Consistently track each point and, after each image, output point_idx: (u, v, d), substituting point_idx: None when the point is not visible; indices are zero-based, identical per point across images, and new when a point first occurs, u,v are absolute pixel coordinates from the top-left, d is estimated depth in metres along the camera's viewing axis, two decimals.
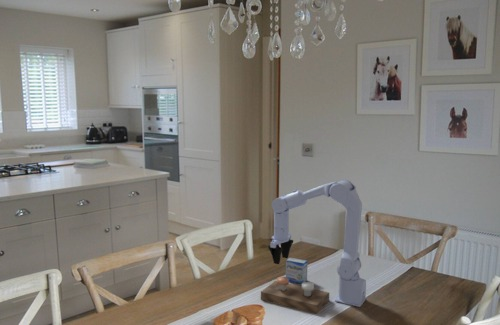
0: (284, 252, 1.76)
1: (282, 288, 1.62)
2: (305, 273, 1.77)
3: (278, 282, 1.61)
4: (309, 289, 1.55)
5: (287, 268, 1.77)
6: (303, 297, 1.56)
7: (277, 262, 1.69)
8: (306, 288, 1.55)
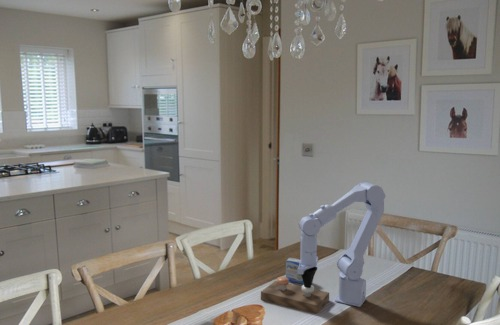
0: None
1: (282, 288, 1.62)
2: None
3: (278, 282, 1.61)
4: (309, 291, 1.55)
5: (287, 268, 1.77)
6: (303, 297, 1.56)
7: (308, 286, 1.56)
8: (306, 290, 1.55)
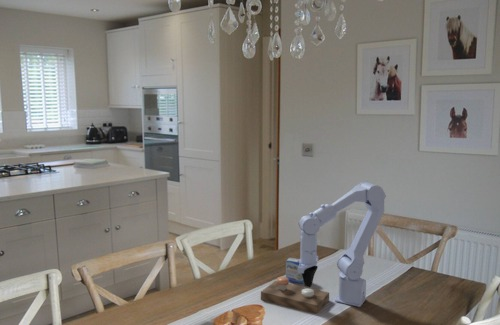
0: None
1: (282, 288, 1.62)
2: None
3: (278, 282, 1.61)
4: (309, 295, 1.55)
5: (287, 268, 1.77)
6: (303, 297, 1.56)
7: (308, 285, 1.56)
8: (306, 295, 1.56)
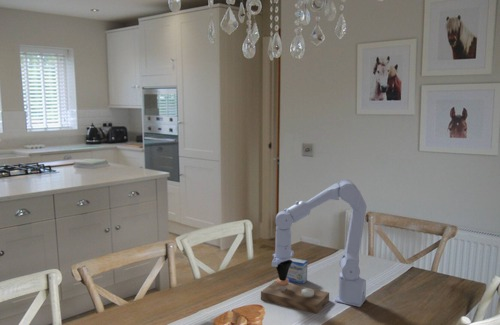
0: None
1: (282, 289, 1.62)
2: (305, 273, 1.77)
3: (278, 283, 1.61)
4: (309, 295, 1.55)
5: None
6: (303, 297, 1.56)
7: (283, 278, 1.61)
8: (306, 295, 1.56)
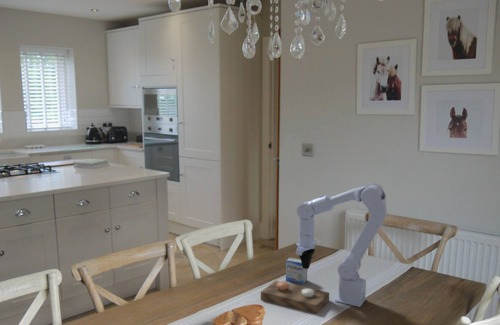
0: None
1: None
2: (305, 273, 1.77)
3: (278, 287, 1.61)
4: (309, 295, 1.55)
5: (287, 268, 1.77)
6: (303, 297, 1.56)
7: (306, 267, 1.66)
8: (306, 295, 1.56)
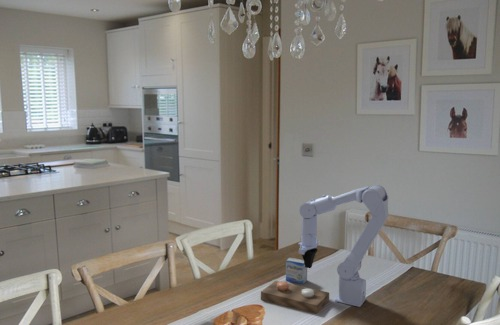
0: None
1: None
2: (305, 273, 1.77)
3: (278, 287, 1.61)
4: (309, 295, 1.55)
5: (287, 268, 1.77)
6: (303, 297, 1.56)
7: (309, 266, 1.66)
8: (306, 295, 1.56)
